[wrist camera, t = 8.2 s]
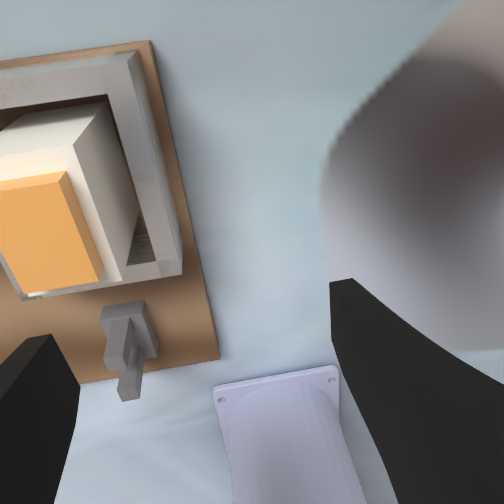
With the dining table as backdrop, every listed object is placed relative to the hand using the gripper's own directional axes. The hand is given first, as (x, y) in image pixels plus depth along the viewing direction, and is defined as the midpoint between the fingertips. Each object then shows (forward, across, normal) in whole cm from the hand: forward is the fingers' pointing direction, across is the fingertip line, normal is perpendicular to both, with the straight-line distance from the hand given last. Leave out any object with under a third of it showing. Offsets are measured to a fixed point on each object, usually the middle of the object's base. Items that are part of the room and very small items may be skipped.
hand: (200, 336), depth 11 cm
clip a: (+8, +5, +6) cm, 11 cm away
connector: (+8, +4, -2) cm, 9 cm away
